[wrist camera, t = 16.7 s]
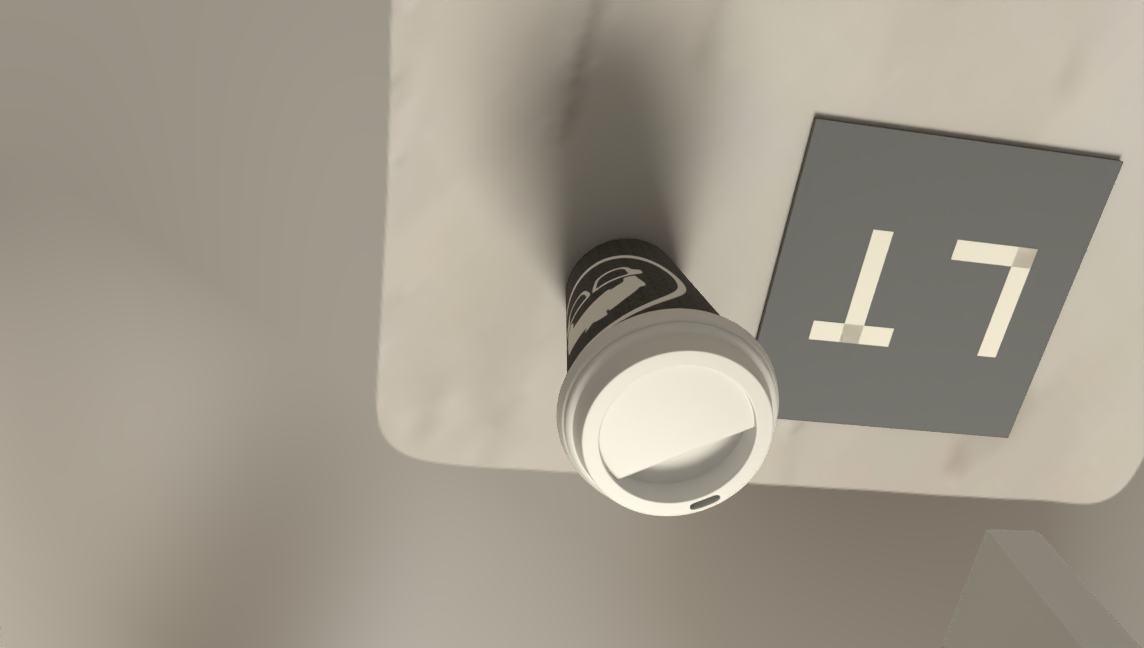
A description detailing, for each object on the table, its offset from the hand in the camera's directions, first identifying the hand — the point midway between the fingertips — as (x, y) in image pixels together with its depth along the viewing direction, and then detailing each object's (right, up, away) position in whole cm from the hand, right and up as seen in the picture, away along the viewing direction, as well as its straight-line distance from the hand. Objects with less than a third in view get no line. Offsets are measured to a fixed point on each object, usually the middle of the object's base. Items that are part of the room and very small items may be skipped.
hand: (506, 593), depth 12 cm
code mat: (+21, +5, +39) cm, 44 cm away
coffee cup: (+4, +5, +37) cm, 37 cm away
